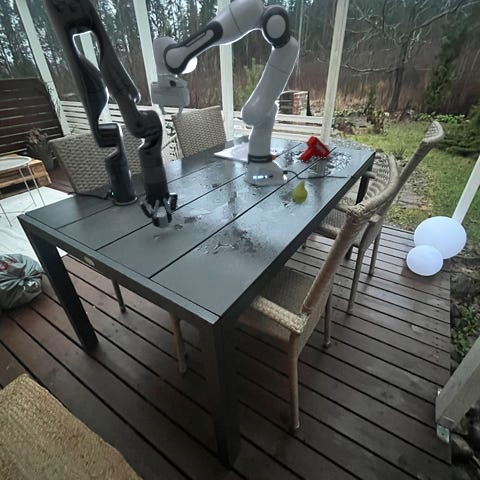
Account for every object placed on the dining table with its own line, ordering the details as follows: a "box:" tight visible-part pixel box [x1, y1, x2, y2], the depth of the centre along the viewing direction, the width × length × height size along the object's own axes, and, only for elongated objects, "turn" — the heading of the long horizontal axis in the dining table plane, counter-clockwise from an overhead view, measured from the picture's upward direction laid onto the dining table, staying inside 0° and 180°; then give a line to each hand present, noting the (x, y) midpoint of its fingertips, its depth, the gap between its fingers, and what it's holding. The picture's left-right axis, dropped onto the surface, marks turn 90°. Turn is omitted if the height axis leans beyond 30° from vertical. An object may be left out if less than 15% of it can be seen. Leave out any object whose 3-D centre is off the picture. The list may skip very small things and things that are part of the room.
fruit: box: [291, 174, 311, 204], centre depth 118 cm, size 7×8×12 cm
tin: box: [157, 211, 170, 229], centre depth 96 cm, size 4×4×4 cm
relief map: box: [213, 141, 280, 164], centre depth 184 cm, size 27×35×5 cm
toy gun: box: [300, 135, 332, 164], centre depth 172 cm, size 18×4×15 cm
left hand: (163, 223), depth 97 cm, fingers closed on tin, 4 cm apart
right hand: (171, 115), depth 128 cm, fingers open, 8 cm apart
